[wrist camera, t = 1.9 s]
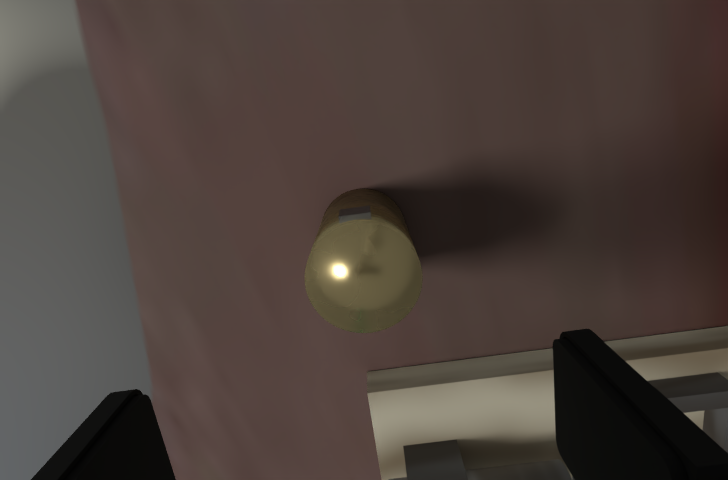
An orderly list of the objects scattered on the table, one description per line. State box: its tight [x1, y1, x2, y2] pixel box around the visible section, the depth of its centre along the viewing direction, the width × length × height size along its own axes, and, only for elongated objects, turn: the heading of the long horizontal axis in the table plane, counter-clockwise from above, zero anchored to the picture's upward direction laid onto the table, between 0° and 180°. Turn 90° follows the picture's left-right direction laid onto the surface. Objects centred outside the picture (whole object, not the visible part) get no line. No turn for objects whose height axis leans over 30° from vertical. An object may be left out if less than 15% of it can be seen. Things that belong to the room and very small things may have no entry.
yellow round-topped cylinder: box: [305, 189, 423, 333], centre depth 20 cm, size 5×4×7 cm
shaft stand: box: [367, 326, 728, 480], centre depth 24 cm, size 11×30×6 cm, turn 98°
